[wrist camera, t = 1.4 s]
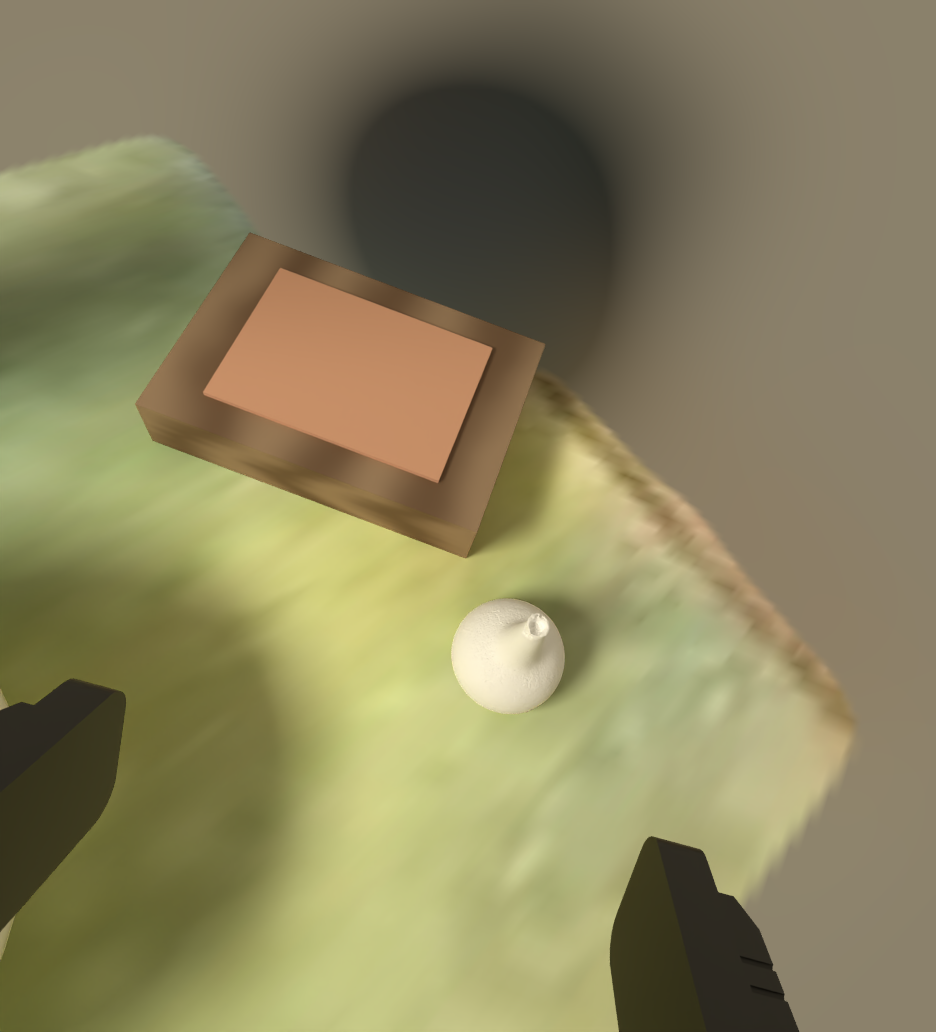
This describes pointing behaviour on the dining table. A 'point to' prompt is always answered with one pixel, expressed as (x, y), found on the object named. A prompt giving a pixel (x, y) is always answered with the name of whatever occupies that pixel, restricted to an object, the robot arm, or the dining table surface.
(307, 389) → the mat
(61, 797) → the robot arm
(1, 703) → the bowl of brown food
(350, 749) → the dining table surface
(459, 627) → the garlic bulb
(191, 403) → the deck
